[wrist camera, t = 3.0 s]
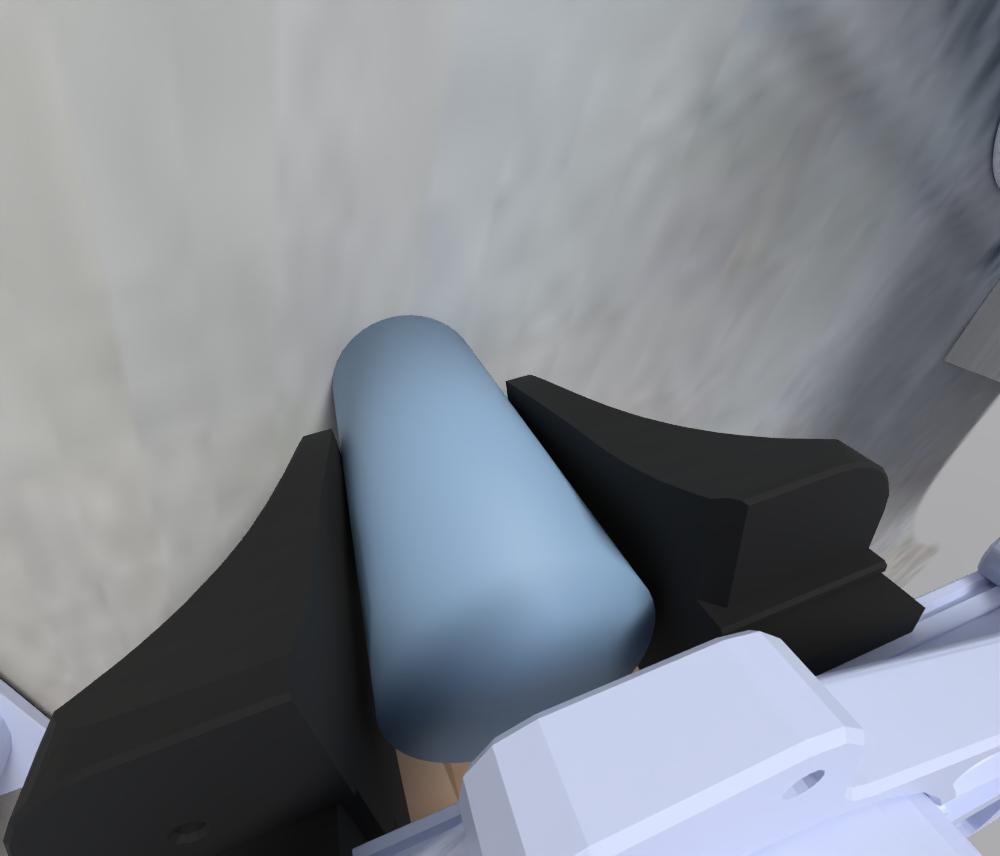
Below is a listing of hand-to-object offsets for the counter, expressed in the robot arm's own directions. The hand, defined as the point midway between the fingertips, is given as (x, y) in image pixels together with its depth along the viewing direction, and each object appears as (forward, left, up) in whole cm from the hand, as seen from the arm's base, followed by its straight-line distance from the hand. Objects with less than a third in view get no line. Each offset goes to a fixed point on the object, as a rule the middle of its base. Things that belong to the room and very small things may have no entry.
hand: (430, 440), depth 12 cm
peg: (0, 0, -3) cm, 3 cm away
